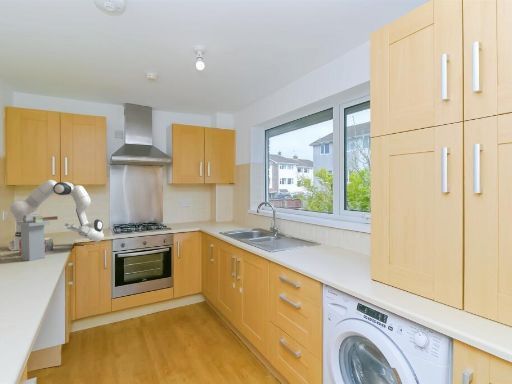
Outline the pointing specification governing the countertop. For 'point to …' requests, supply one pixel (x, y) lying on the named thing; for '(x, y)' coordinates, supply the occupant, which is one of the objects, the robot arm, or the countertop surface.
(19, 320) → the countertop surface
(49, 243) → the stack of blocks
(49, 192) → the robot arm
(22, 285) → the countertop surface
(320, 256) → the countertop surface
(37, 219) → the sage cube
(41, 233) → the grey pedestal
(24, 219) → the steel-headed mallet
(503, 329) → the countertop surface
